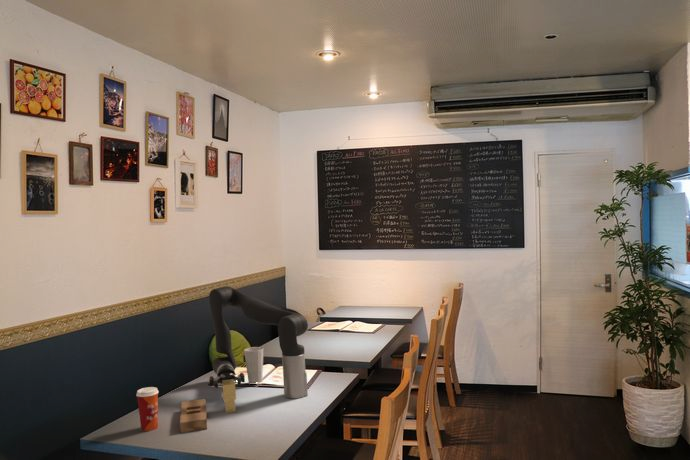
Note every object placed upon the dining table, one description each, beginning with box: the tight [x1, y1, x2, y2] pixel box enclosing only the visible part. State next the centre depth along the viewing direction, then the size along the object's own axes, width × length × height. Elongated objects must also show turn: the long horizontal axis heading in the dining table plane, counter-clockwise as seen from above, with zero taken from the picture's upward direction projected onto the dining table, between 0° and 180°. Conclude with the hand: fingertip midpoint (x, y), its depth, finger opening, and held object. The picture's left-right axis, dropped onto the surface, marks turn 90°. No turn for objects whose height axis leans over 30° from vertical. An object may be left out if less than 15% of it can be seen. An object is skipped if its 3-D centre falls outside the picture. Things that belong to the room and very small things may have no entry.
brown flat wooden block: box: [179, 398, 208, 433], centre depth 212 cm, size 9×24×4 cm, turn 15°
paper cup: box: [135, 386, 160, 432], centre depth 205 cm, size 8×8×14 cm
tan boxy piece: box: [221, 379, 237, 414], centre depth 220 cm, size 5×7×11 cm, turn 15°
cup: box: [243, 346, 264, 384], centre depth 254 cm, size 8×8×16 cm
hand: (227, 384), depth 229 cm, fingers open, 8 cm apart
